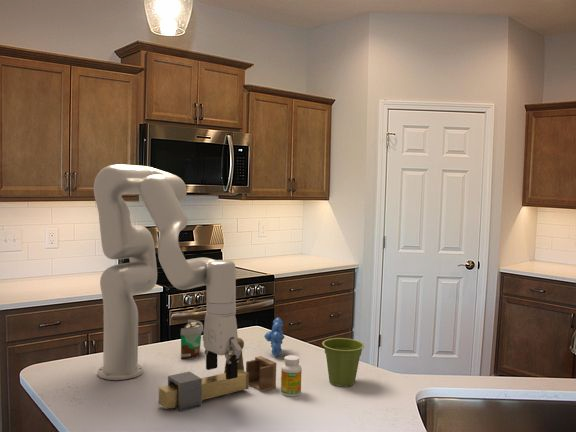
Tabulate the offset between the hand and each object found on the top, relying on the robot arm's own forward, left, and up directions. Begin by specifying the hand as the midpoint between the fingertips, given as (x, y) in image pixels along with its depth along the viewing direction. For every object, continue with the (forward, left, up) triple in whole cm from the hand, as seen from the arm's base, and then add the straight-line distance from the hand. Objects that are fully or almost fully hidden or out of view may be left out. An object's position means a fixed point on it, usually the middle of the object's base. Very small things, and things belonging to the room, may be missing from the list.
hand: (221, 373), depth 147 cm
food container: (-36, +12, -6) cm, 38 cm away
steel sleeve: (-1, -10, -6) cm, 12 cm away
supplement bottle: (+8, +17, -6) cm, 20 cm away
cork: (-12, +12, -6) cm, 18 cm away
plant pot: (+10, +34, -6) cm, 36 cm away
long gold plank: (-1, -4, -6) cm, 8 cm away
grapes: (-22, +34, -6) cm, 41 cm away
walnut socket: (-1, +13, -6) cm, 15 cm away
